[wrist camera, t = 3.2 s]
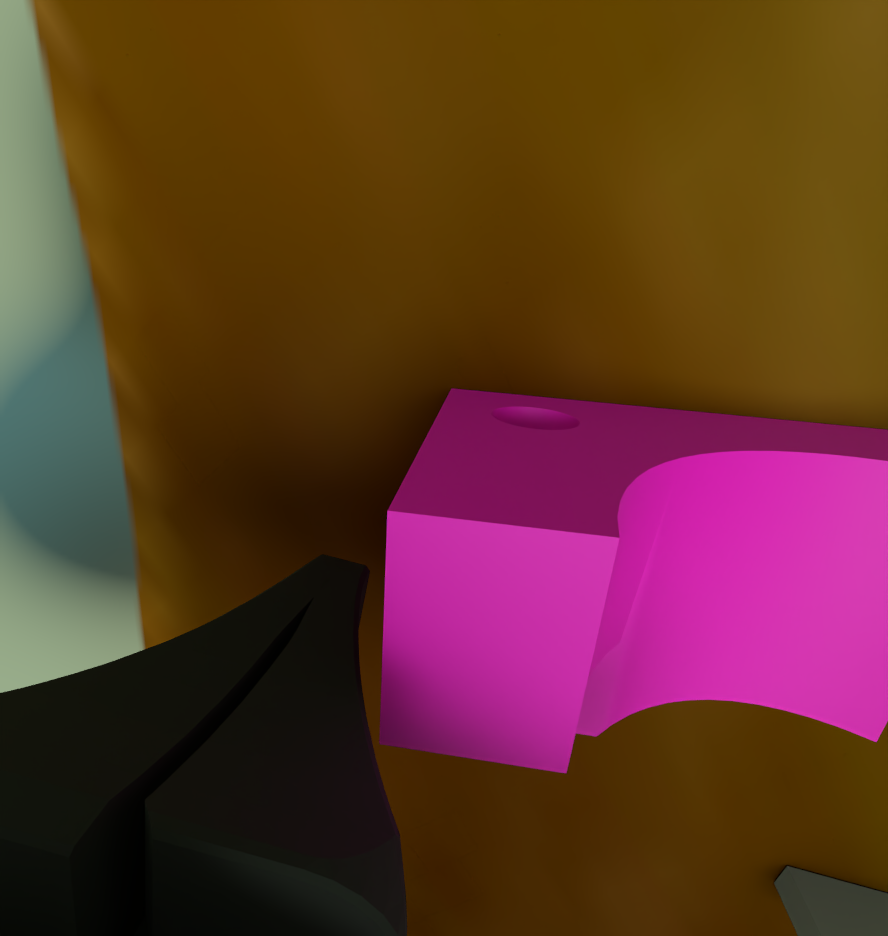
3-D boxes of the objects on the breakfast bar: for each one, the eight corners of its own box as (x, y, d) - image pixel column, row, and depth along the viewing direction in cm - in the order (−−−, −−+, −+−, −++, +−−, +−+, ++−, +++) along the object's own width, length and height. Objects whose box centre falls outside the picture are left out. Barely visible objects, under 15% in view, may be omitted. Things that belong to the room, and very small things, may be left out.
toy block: (435, 590, 15) (375, 856, 8) (451, 388, 13) (387, 511, 6) (963, 658, 14) (1443, 1044, 7) (1082, 448, 11) (1984, 698, 4)
